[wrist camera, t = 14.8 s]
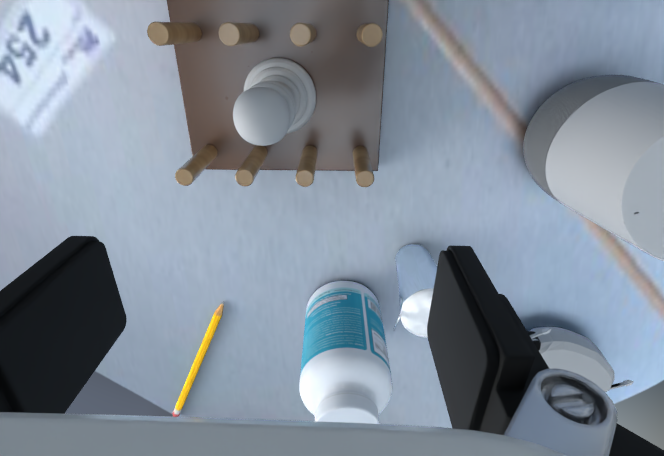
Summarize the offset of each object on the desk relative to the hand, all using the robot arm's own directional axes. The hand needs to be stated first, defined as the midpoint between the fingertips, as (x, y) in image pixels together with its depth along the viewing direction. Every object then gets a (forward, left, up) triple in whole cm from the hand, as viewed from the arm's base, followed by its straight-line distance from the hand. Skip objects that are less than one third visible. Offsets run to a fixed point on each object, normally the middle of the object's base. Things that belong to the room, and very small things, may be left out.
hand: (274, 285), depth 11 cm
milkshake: (-9, +13, -23) cm, 27 cm away
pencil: (+14, +27, -23) cm, 38 cm away
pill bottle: (-3, +19, -23) cm, 30 cm away
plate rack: (+2, -6, -22) cm, 23 cm away
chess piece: (+2, -2, -21) cm, 22 cm away
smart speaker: (-21, +1, -23) cm, 31 cm away
